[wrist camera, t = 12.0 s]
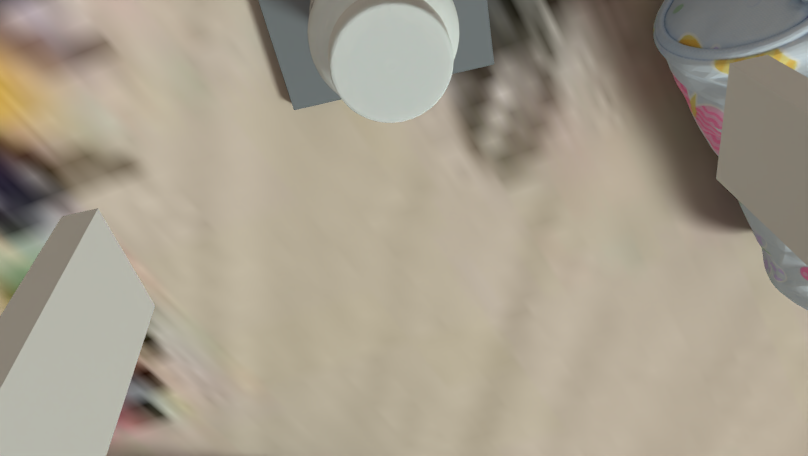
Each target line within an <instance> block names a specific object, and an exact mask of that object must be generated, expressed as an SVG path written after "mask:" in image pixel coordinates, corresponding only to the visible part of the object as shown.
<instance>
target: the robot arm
mask: <svg viewBox="0 0 808 456" xmlns="http://www.w3.org/2000/svg"><path fill="white" fill-rule="evenodd" d="M716 179H717V180H718V181H719V182H720V183H721V184H722V185H723V186H724V187H725V188H726V189H727V190H728V191H729V192H730V193H731V194H732V195H734V196H735V197H736V198H737V199H738V200H739V201H740V202H741V203H742V204H743V205H744V206H745V207H746V208H747V209H748V210H749V211H750V212H751V213H752V214H753V215H755V216H756V217H757V218H758V219H759V220H760V221H761V222H762V223H763V224H764V225H765V226H766V227H767V228H768V229H769V230H770V231H771V232H772V233H773V234H775V235H776V236H777V237H778V238H779V239H780V240H781V241H782V242H783V243H784V244H785V245H786V246H787V247H788V248H789V249H790V250H791V251H792V252H793V253H794V254H796V255H797V256H798V257H799V258H800V259H801V260H802V261H803V262H804V263H805V264H806V265H807V266H808V77H806V76H804V75H802V74H801V73H799V72H797V71H795V70H793V69H792V68H790V67H788V66H786V65H785V64H783V63H781V62H779V61H778V60H776V59H774V58H772V57H770V56H769V55H764V56H759V57H755V58H751V59H746V60H742V61H738V62H733V63H730V65H729V73H728V82H727V90H726V99H725V107H724V116H723V124H722V132H721V141H720V149H719V158H718V166H717V175H716ZM154 308H155V305H154V303H153V301H152V299H151V298H150V296H149V294H148V293H147V291H146V289H145V288H144V286H143V284H142V282H141V281H140V279H139V277H138V276H137V274H136V272H135V270H134V269H133V267H132V265H131V264H130V262H129V260H128V258H127V257H126V255H125V253H124V252H123V250H122V248H121V247H120V245H119V243H118V241H117V240H116V238H115V236H114V235H113V233H112V231H111V229H110V228H109V226H108V224H107V223H106V221H105V219H104V218H103V216H102V214H101V212H100V211H99V209H98V208H97V209H93V210H89V211H84V212H80V213H76V214H71V215H67V216H63V217H61V219H60V221H59V222H58V224H57V226H56V227H55V229H54V230H53V232H52V234H51V235H50V237H49V238H48V240H47V242H46V243H45V245H44V247H43V248H42V250H41V251H40V253H39V255H38V256H37V258H36V259H35V261H34V263H33V264H32V266H31V268H30V269H29V271H28V272H27V274H26V276H25V277H24V279H23V280H22V282H21V284H20V285H19V287H18V289H17V290H16V292H15V293H14V295H13V297H12V298H11V300H10V301H9V303H8V305H7V306H6V308H5V310H4V311H3V313H2V314H1V316H0V456H106V455H107V452H108V449H109V446H110V443H111V440H112V437H113V434H114V431H115V427H116V424H117V421H118V418H119V415H120V412H121V409H122V406H123V403H124V400H125V397H126V394H127V391H128V388H129V384H130V381H131V378H132V375H133V372H134V369H135V366H136V363H137V360H138V357H139V354H140V351H141V348H142V345H143V341H144V338H145V335H146V332H147V329H148V326H149V323H150V320H151V317H152V314H153V311H154Z"/></svg>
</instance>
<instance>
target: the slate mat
mask: <svg viewBox="0 0 808 456" xmlns="http://www.w3.org/2000/svg"><path fill="white" fill-rule="evenodd" d="M258 1H259V4H260V7H261V10H262V13H263V16H264V19H265V22H266V25H267V28H268V31H269V34H270V37H271V41H272V44H273V47H274V50H275V53H276V56H277V59H278V62H279V65H280V68H281V71H282V74H283V77H284V80H285V84H286V87H287V90H288V93H289V96H290V99H291V102H292V105H293V108H294V110H297V109H301V108H306V107H310V106H314V105H319V104H323V103H327V102H332V101H336V100H340V99H341V98H340V96H339V95H338V94H337V93H336V92H334V91H333V90H332V89H331V88H330V87H329V86H328V85H327V83H326V82H325V81H324V80H323V78H322V77H321V75H320V74H319V72H318V70H317V68H316V66H315V64H314V62H313V59H312V56H311V52H310V48H309V43H308V33H307V31H308V19H309V9H310V0H258ZM453 2H454V5H455V8H456V11H457V16H458V21H459V43H458V49H457V53H456V56H455V59H454V63H453V72H452V74H454V73H458V72H462V71H467V70H471V69H476V68H480V67H484V66H489V65H493V64H494V59H493V50H492V41H491V32H490V23H489V14H488V5H487V0H453Z"/></svg>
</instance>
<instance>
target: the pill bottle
mask: <svg viewBox="0 0 808 456" xmlns="http://www.w3.org/2000/svg"><path fill="white" fill-rule="evenodd" d="M307 33H308V43H309V48H310V52H311V56H312V59H313V62H314V64H315V66H316V68H317V70H318V72H319V74H320V75H321V77H322V78H323V80H324V81H325V82H326V83H327V85H328V86H329V87H330V88H331V89H332V90H333V91H334V92H336V93H337V94H338V95H339V96H340V98H341V99H342V100H343V101H344V103H345V104H346V105H347V106H348V107H349V108H350V109H352V110H353V111H354V112H356V113H357V114H359V115H361V116H363V117H365V118H368V119H371V120H374V121H378V122H385V123H395V122H402V121H406V120H410V119H413V118H415V117H417V116H419V115H421V114H423V113H424V112H426V111H427V110H429V109H430V108H431V107H433V106H434V105H435V104H436V103H437V101H438V100H439V99H440V98H441V97H442V95H443V94H444V92H445V91H446V89H447V87H448V84H449V82H450V79H451V76H452V72H453V63H454V59H455V56H456V53H457V49H458V43H459V21H458V16H457V11H456V8H455V5H454V2H453V0H310V9H309V19H308V31H307Z"/></svg>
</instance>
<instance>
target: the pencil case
mask: <svg viewBox="0 0 808 456" xmlns="http://www.w3.org/2000/svg"><path fill="white" fill-rule="evenodd" d="M653 36H654V41H655V44H656V47H657V48H658V50H659V52H660V53H661V54H662V55H663V56H664V57H665V58H666V60H667V62H668V65H669V68H670V70H671V72H672V74H673V77H674V79H675V82H676V84H677V85H678V87H679V89H680V90H681V92H682V93H683V94H684V96H685V99H686V101H687V103H688V106H689V108H690V110H691V113H692V115H693V117H694V119H695V121H696V123H697V125H698V127H699V129H700V130H701V132H702V133H703V135H704V136H705V138H706V140H707V141H708V143H709V145H710V146H711V148H712V149H713V151H714V152H715V153H716V154H717V156H718V157H719V149H720V141H721V132H722V124H723V116H724V107H725V99H726V90H727V82H728V73H729V65H730V63H733V62H738V61H742V60H746V59H751V58H755V57H759V56H764V55H769V56H770V57H772V58H774V59H776V60H778V61H779V62H781V63H783V64H785V65H786V66H788V67H790V68H792V69H793V70H795V71H797V72H799V73H801V74H802V75H804V76H806V77H808V0H664V2H663V3H662V5H661V7H660V9H659V11H658V13H657V16H656V19H655V22H654V27H653ZM738 201H739V200H738ZM739 204H740V206H741V208H742V211H743V213H744V215H745V217H746V219H747V221H748V223H749V225H750V227H751V228H752V231H753V233H754V235H755V237H756V239H757V241H758V243H759V244H760V246H761V247H762V252H763V260H764V266H765V269H766V272H767V274H768V276H769V278H770V280H771V282H772V283H773V285H774V286H775V287H776V288H777V289H778V290H779V291H780V292H781V293H782V294H784V295H785V296H786V297H788V298H789V299H790V300H792V301H793V302H794V303H796V304H797V305H799V306H801V307H803V308H805V309H806V310H808V266H807V265H806V264H805V263H804V262H803V261H802V260H801V259H800V258H799V257H798V256H797V255H796V254H794V253H793V252H792V251H791V250H790V249H789V248H788V247H787V246H786V245H785V244H784V243H783V242H782V241H781V240H780V239H779V238H778V237H777V236H776V235H775V234H773V233H772V232H771V231H770V230H769V229H768V228H767V227H766V226H765V225H764V224H763V223H762V222H761V221H760V220H759V219H758V218H757V217H756V216H755V215H753V214H752V213H751V212H750V211H749V210H748V209H747V208H746V207H745V206H744V205H743V204H742V203H741V202H740V201H739Z"/></svg>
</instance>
